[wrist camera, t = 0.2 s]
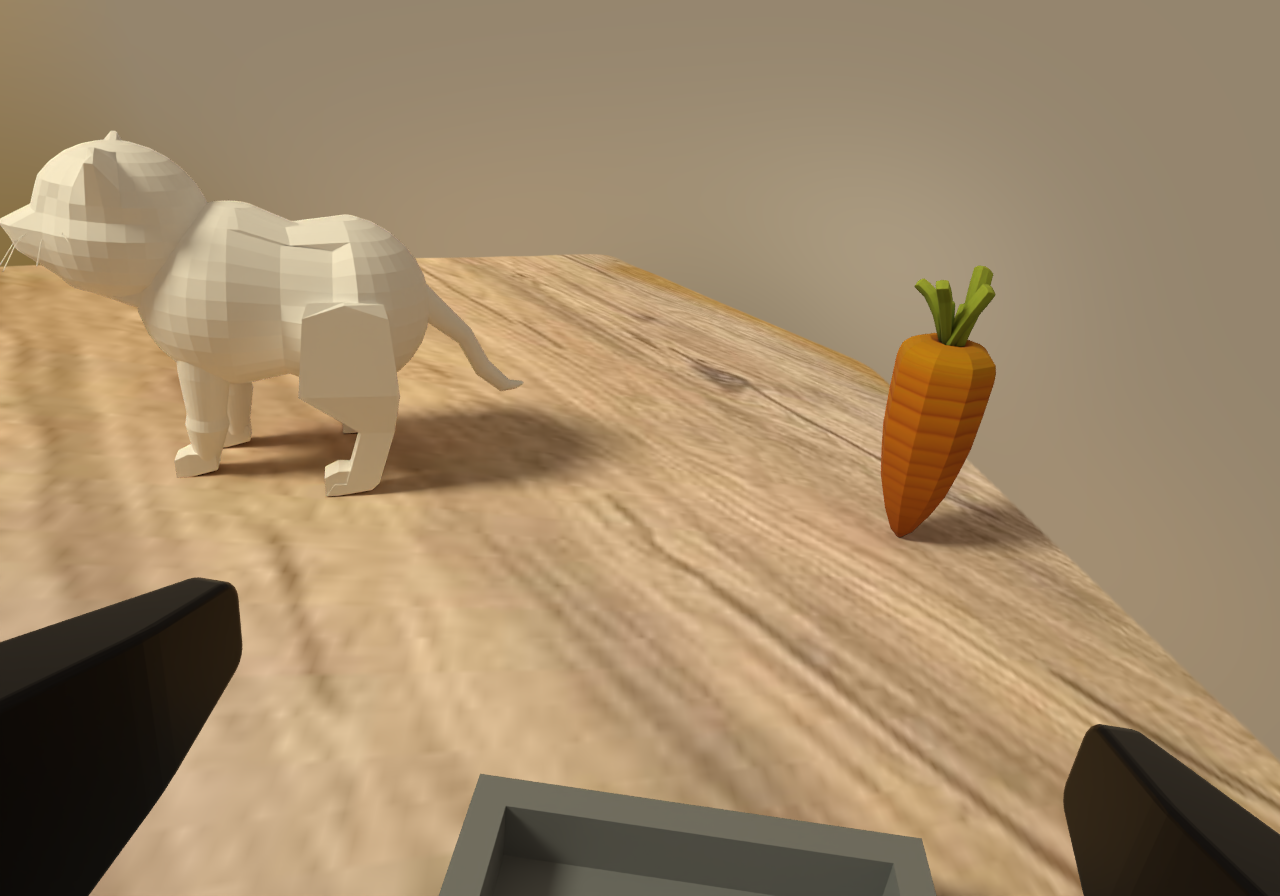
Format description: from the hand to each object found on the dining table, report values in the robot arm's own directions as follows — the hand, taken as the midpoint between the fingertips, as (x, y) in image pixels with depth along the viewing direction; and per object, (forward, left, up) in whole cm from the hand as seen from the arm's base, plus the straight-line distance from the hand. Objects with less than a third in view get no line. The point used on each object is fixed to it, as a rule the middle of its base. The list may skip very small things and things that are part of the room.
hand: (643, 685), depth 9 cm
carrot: (+35, -13, -17) cm, 41 cm away
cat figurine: (+35, +21, -17) cm, 44 cm away
